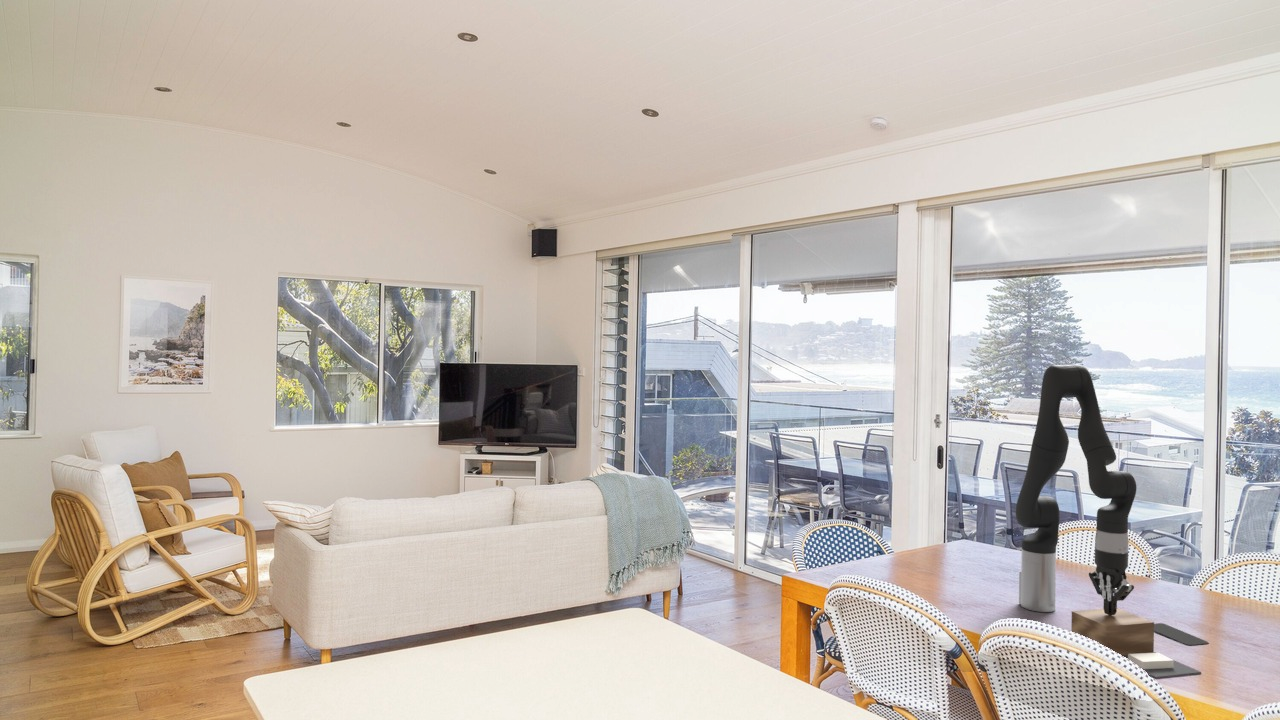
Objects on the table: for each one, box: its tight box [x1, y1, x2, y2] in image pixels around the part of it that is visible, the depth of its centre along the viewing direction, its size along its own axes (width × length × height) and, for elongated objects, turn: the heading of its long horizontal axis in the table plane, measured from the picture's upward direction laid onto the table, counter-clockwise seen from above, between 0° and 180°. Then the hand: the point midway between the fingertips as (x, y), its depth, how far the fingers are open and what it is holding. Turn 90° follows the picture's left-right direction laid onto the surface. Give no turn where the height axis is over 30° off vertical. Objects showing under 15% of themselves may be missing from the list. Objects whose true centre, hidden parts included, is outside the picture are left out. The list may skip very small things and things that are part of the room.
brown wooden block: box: [1070, 607, 1155, 655], centre depth 211 cm, size 12×14×8 cm
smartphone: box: [1154, 622, 1209, 647], centre depth 220 cm, size 7×1×15 cm
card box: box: [1128, 652, 1174, 670], centre depth 198 cm, size 5×8×2 cm, turn 97°
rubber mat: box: [1122, 651, 1202, 680], centre depth 199 cm, size 13×13×1 cm
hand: (1110, 614), depth 212 cm, fingers closed
